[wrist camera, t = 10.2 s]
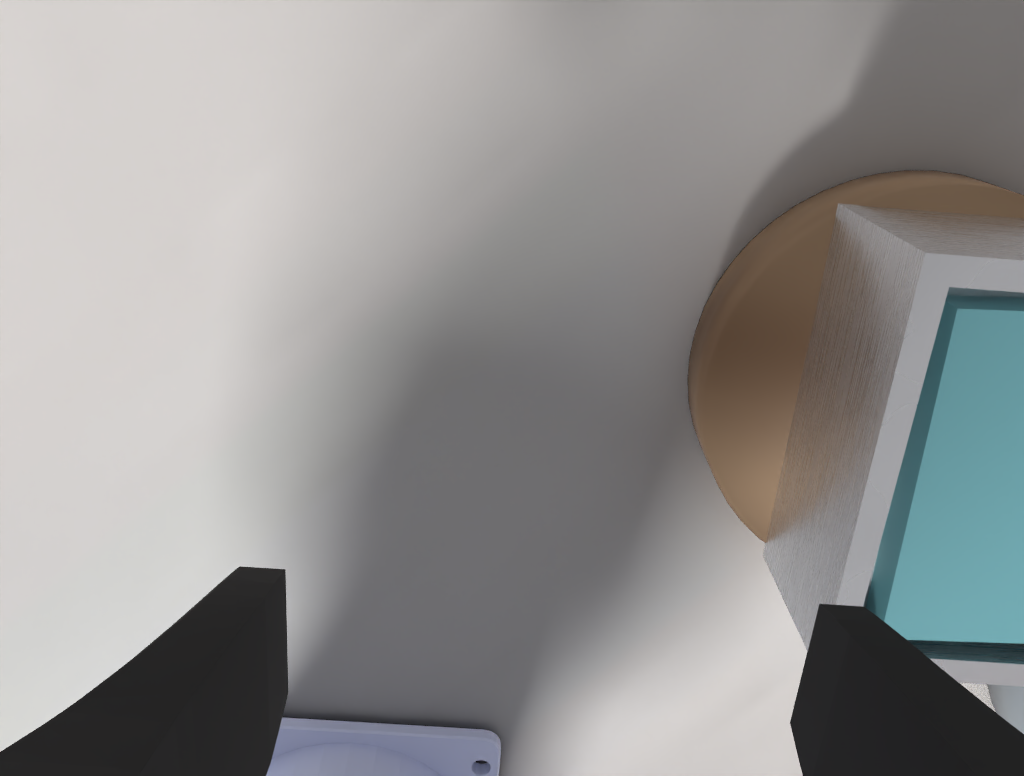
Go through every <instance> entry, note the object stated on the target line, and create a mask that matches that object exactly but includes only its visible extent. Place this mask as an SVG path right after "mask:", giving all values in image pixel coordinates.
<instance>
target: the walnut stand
mask: <svg viewBox="0 0 1024 776" xmlns="http://www.w3.org/2000/svg"><path fill="white" fill-rule="evenodd" d="M838 203H839V204H852V205H862V206H874V207H887V208H900V209H912V210H925V211H937V212H950V213H963V214H975V215H988V216H1001V217H1013V218H1024V195H1021V194H1018V193H1015V192H1012V191H1009V190H1007V189H1004V188H1001V187H998V186H995V185H992V184H989V183H987V182H983V181H980V180H977V179H973V178H970V177H967V176H963V175H959V174H952V173H945V172H939V171H907V170H906V171H897V172H889V173H881V174H875V175H871V176H867V177H863V178H859V179H855V180H851V181H848V182H845V183H843V184H840V185H838V186H835V187H832V188H830V189H827V190H825V191H822V192H820V193H818V194H816V195H815V196H813V197H811V198H809V199H807V200H805V201H803V202H801V203H799V204H798V205H796V206H794V207H793V208H792V209H790V210H789V211H787V212H786V213H784V214H783V215H781V216H780V217H778V218H777V219H776V220H774V221H773V222H772V223H770V224H769V225H768V226H767V227H766V228H765V229H764V230H762V231H761V232H760V233H759V234H758V235H757V236H756V237H755V238H753V239H752V240H751V241H750V242H749V243H748V245H747V246H746V247H745V248H744V249H743V250H742V251H741V252H740V253H739V255H738V256H737V257H736V258H735V259H734V260H733V261H732V263H731V264H730V266H729V267H728V268H727V270H726V271H725V273H724V274H723V276H722V277H721V278H720V280H719V281H718V283H717V284H716V286H715V288H714V290H713V292H712V294H711V296H710V298H709V299H708V301H707V303H706V305H705V307H704V310H703V312H702V315H701V318H700V320H699V323H698V326H697V328H696V331H695V335H694V339H693V344H692V348H691V352H690V358H689V369H688V397H689V407H690V412H691V417H692V422H693V426H694V429H695V432H696V434H697V437H698V440H699V443H700V445H701V448H702V450H703V452H704V455H705V457H706V459H707V462H708V464H709V466H710V468H711V471H712V473H713V475H714V478H715V480H716V482H717V484H718V486H719V488H720V490H721V491H722V493H723V495H724V497H725V499H726V501H727V503H728V504H729V505H730V507H731V508H732V509H733V511H734V512H735V513H736V515H737V516H738V517H739V519H740V520H741V521H742V522H743V523H744V524H745V525H746V526H747V527H748V528H749V529H750V530H751V531H752V532H753V533H754V534H755V535H756V536H757V537H758V538H759V539H761V540H762V541H764V542H765V543H766V540H767V535H768V530H769V526H770V521H771V516H772V512H773V507H774V502H775V498H776V493H777V488H778V484H779V479H780V474H781V470H782V465H783V460H784V456H785V451H786V446H787V442H788V437H789V432H790V428H791V423H792V418H793V414H794V409H795V404H796V400H797V395H798V390H799V386H800V381H801V376H802V372H803V367H804V362H805V358H806V353H807V348H808V344H809V339H810V334H811V330H812V325H813V320H814V316H815V311H816V307H817V302H818V297H819V293H820V288H821V283H822V279H823V274H824V269H825V265H826V260H827V255H828V251H829V246H830V241H831V237H832V232H833V227H834V223H835V218H836V211H837V207H838Z"/></svg>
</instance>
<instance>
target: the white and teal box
mask: <svg viewBox="0 0 1024 776" xmlns="http://www.w3.org/2000/svg"><path fill="white" fill-rule="evenodd" d="M947 295H962V296H988V297H1015V298H1024V218H1013V217H1001V216H988V215H975V214H963V213H950V212H937V211H925V210H912V209H900V208H887V207H874V206H862V205H852V204H839V203H838V207H837V211H836V218H835V223H834V227H833V232H832V237H831V241H830V246H829V251H828V255H827V260H826V265H825V269H824V274H823V279H822V283H821V288H820V293H819V297H818V302H817V307H816V311H815V316H814V320H813V325H812V330H811V334H810V339H809V344H808V348H807V353H806V358H805V362H804V367H803V372H802V376H801V381H800V386H799V390H798V395H797V400H796V404H795V409H794V414H793V418H792V423H791V428H790V432H789V437H788V442H787V446H786V451H785V456H784V460H783V465H782V470H781V474H780V479H779V484H778V488H777V493H776V498H775V502H774V507H773V512H772V516H771V521H770V526H769V530H768V535H767V540H766V543H765V548H764V553H763V557H764V559H765V561H766V563H767V565H768V568H769V570H770V572H771V574H772V576H773V578H774V580H775V583H776V585H777V587H778V589H779V591H780V593H781V595H782V598H783V600H784V602H785V604H786V606H787V608H788V610H789V612H790V615H791V617H792V619H793V621H794V623H795V625H796V627H797V630H798V632H799V634H800V636H801V638H802V640H803V642H804V645H805V647H806V649H807V651H808V648H809V644H810V640H811V636H812V632H813V628H814V623H815V619H816V615H817V611H818V607H819V604H832V605H847V606H863V607H865V608H866V604H867V599H868V595H869V590H870V586H871V581H872V577H873V573H874V568H875V564H876V559H877V555H878V550H879V546H880V542H881V538H882V534H883V531H884V527H885V523H886V520H887V516H888V512H889V508H890V505H891V501H892V497H893V494H894V490H895V486H896V482H897V479H898V475H899V471H900V468H901V464H902V460H903V456H904V453H905V449H906V445H907V442H908V438H909V434H910V430H911V427H912V423H913V419H914V416H915V412H916V408H917V405H918V401H919V397H920V393H921V390H922V386H923V382H924V379H925V375H926V371H927V367H928V364H929V360H930V356H931V353H932V349H933V345H934V341H935V338H936V334H937V330H938V327H939V323H940V319H941V315H942V312H943V308H944V304H945V301H946V297H947ZM907 641H909V642H910V643H911V644H912V645H914V646H915V647H916V648H917V649H918V650H920V651H921V652H922V653H923V654H924V655H926V656H927V657H928V658H929V659H930V660H932V661H933V662H934V663H935V664H936V665H938V666H939V667H940V668H941V669H942V670H944V671H945V672H946V673H947V674H949V675H950V676H951V677H952V678H953V679H955V680H956V681H957V682H958V683H974V684H990V685H1006V686H1021V687H1024V644H1019V643H989V642H958V641H927V640H907Z"/></svg>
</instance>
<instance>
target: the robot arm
mask: <svg viewBox="0 0 1024 776" xmlns="http://www.w3.org/2000/svg"><path fill="white" fill-rule="evenodd" d="M287 695H288V664H287V621H286V578H285V569H269V568H254V567H239V568H237V569H236V570H235V571H234V572H232V573H231V574H230V575H229V576H228V577H227V578H225V579H224V580H223V581H222V582H221V583H220V584H218V585H217V586H216V587H215V588H214V589H213V590H212V591H211V592H209V593H208V594H207V595H206V596H205V597H204V598H203V599H202V600H200V601H199V602H198V603H197V604H196V605H195V606H194V607H193V608H192V609H190V610H189V611H188V612H187V613H186V614H185V615H184V616H182V617H181V618H180V619H179V620H178V621H177V622H176V623H174V624H173V625H172V626H171V627H170V628H169V629H167V630H166V631H165V632H164V633H163V634H162V635H160V636H159V637H158V638H157V639H156V640H154V641H153V642H152V643H151V644H150V645H148V646H147V647H146V648H145V649H144V650H142V651H141V652H140V653H139V654H138V655H137V656H135V657H134V658H133V659H132V660H130V661H129V662H128V663H127V664H125V665H124V666H123V667H122V668H120V669H119V670H118V671H116V672H115V673H114V674H113V675H111V676H110V677H109V678H107V679H106V680H105V681H103V682H102V683H101V684H99V685H98V686H97V687H95V688H94V689H93V690H92V691H90V692H89V693H88V694H86V695H85V696H84V697H82V698H81V699H80V700H78V701H77V702H76V703H74V704H73V705H71V706H70V707H68V708H67V709H66V710H64V711H63V712H61V713H60V714H58V715H57V716H55V717H54V718H52V719H51V720H50V721H48V722H47V723H45V724H44V725H42V726H41V727H39V728H37V729H36V730H34V731H33V732H31V733H29V734H28V735H26V736H25V737H23V738H22V739H20V740H18V741H17V742H15V743H14V744H12V745H11V746H9V747H7V748H6V749H4V750H3V751H1V752H0V776H499V767H500V756H501V742H500V739H499V737H498V736H497V735H496V734H495V733H493V732H492V731H488V730H484V729H467V728H450V727H433V726H417V725H400V724H383V723H366V722H349V721H333V720H316V719H299V718H282V716H283V712H284V708H285V704H286V699H287ZM790 724H791V728H792V732H793V737H794V741H795V745H796V749H797V754H798V758H799V762H800V766H801V770H802V773H803V776H1024V734H1023V733H1022V732H1020V731H1019V730H1018V729H1016V728H1015V727H1014V726H1013V725H1011V724H1010V723H1009V722H1007V721H1006V720H1005V719H1003V718H1002V717H1001V716H1000V715H998V714H997V713H996V712H994V711H993V710H992V709H991V708H989V707H988V706H987V705H986V704H984V703H983V702H982V701H981V700H979V699H978V698H977V697H976V696H974V695H973V694H972V693H971V692H969V691H968V690H967V689H966V688H964V687H963V686H962V685H961V684H960V683H958V682H957V681H956V680H955V679H953V678H952V677H951V676H950V675H949V674H947V673H946V672H945V671H944V670H942V669H941V668H940V667H939V666H938V665H936V664H935V663H934V662H933V661H932V660H930V659H929V658H928V657H927V656H926V655H924V654H923V653H922V652H921V651H920V650H918V649H917V648H916V647H915V646H914V645H912V644H911V643H910V642H909V641H907V640H906V639H905V638H904V637H903V636H901V635H900V634H899V633H898V632H897V631H895V630H894V629H893V628H892V627H890V626H889V625H888V624H887V623H885V622H884V621H883V620H881V619H880V618H879V617H878V616H876V615H875V614H874V613H872V612H871V611H869V610H868V609H867V608H865V607H863V606H847V605H832V604H819V607H818V611H817V615H816V619H815V623H814V628H813V632H812V636H811V640H810V644H809V648H808V652H807V656H806V660H805V664H804V668H803V673H802V677H801V681H800V685H799V689H798V693H797V697H796V701H795V705H794V709H793V713H792V717H791V722H790ZM479 760H483V761H487V763H485V764H479V763H476V761H479Z"/></svg>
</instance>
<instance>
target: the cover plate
mask: <svg viewBox="0 0 1024 776" xmlns="http://www.w3.org/2000/svg"><path fill="white" fill-rule="evenodd" d="M866 608H867V609H868V610H869V611H871V612H872V613H874V614H875V615H876V616H878V617H879V618H880V619H881V620H883V621H884V622H885V623H887V624H888V625H889V626H890V627H892V628H893V629H894V630H895V631H897V632H898V633H899V634H900V635H901V636H903V637H904V638H905V639H906V640H927V641H958V642H989V643H1019V644H1024V298H1015V297H988V296H962V295H947V297H946V301H945V304H944V308H943V312H942V315H941V319H940V323H939V327H938V330H937V334H936V338H935V341H934V345H933V349H932V353H931V356H930V360H929V364H928V367H927V371H926V375H925V379H924V382H923V386H922V390H921V393H920V397H919V401H918V405H917V408H916V412H915V416H914V419H913V423H912V427H911V430H910V434H909V438H908V442H907V445H906V449H905V453H904V456H903V460H902V464H901V468H900V471H899V475H898V479H897V482H896V486H895V490H894V494H893V497H892V501H891V505H890V508H889V512H888V516H887V520H886V523H885V527H884V531H883V534H882V538H881V542H880V546H879V550H878V555H877V559H876V564H875V568H874V573H873V577H872V581H871V586H870V590H869V595H868V599H867V604H866Z"/></svg>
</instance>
